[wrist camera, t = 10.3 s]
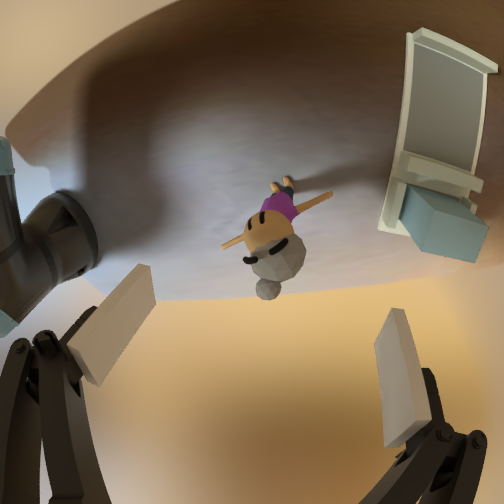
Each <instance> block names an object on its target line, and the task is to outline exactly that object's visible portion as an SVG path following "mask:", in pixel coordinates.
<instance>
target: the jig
mask: <svg viewBox="0 0 504 504" xmlns="http://www.w3.org/2000/svg"><path fill="white" fill-rule="evenodd" d="M487 73H498V65H497V64H496V63H494V62H492V61H491V60H489V59H487V58H486V57H484V56H482V55H480V54H478V53H477V52H475V51H473V50H471V49H469V48H467V47H465V46H463V45H461V44H459V43H457V42H455V41H453V40H451V39H449V38H447V37H444V36H442V35H440V34H437V33H435V32H433V31H430V30H428V29H425V28H423V27H422V28H420V29H419V30H417V31H416V32H414V33H413V34H412V33H409V32H408V33H406V61H405V76H404V88H403V97H402V106H401V114H400V122H399V128H398V135H397V141H396V147H395V153H394V158H393V163H392V168H391V173H390V178H389V183H388V187H387V192H386V196H385V200H384V204H383V209H382V213H381V216H380V220H379V224H378V230H380V231H385V232H390V233H396V234H401V235H405V236H410V237H411V235H410V234H409V232H408V231H407V230H406V228H405V227H404V225H403V224H402V223H401V221H400V220H399V218H398V217H399V214H400V210H401V206H402V202H403V198H404V194H405V190H406V186H407V185H411V186H414V187H418V188H421V189H425V190H428V191H431V192H435V193H438V194H441V195H444V196H448V197H451V198H454V199H456V200H457V201H458V202H460V203H461V204H462V205H464V206H465V207H466V208H467V209H469V210H470V211H471V212H472V213H473V214H475V213H476V210H477V207H478V205H477V204H475V203H474V202H473V201H471V200H470V199H468V197H469V193H470V190H472V191H475V192H478V193H480V194H481V190H482V186H483V182H484V181H483V180H481V179H480V178H478V177H476V176H474V173H475V169H476V164H477V159H478V154H479V149H480V143H481V137H482V131H483V123H484V115H485V105H486V91H487Z"/></svg>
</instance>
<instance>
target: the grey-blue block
mask: <svg viewBox="0 0 504 504" xmlns="http://www.w3.org/2000/svg"><path fill="white" fill-rule="evenodd" d="M398 218H399V220H400V221H401V223H402V224H403V225H404V227H405V228H406V230H407V231H408V232H409V234H410V235H411V237H412V238H413V240H414V241H415V243H416V244H417V246H418V247H419V249H420V250H421V251H422V252H427V253H432V254H436V255H441V256H445V257H450V258H454V259H459V260H463V261H467V262H472V263H475V261H476V259H477V257H478V254H479V252H480V249H481V247H482V244H483V242H484V239H485V237H486V234H487V231H488V229H489V226H487V225H486V224H485V223H484V222H483V221H482V220H481V219H479V218H478V217H477V216H476V215H475V214H473V213H472V212H471V211H470V210H469V209H467V208H466V207H465V206H464V205H462V204H461V203H460V202H458V201H457V200H456V199H454V198H451V197H448V196H444V195H441V194H438V193H435V192H431V191H428V190H425V189H421V188H418V187H414V186H411V185H407V186H406V190H405V194H404V198H403V202H402V206H401V210H400V214H399V217H398Z"/></svg>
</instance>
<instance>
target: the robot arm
mask: <svg viewBox="0 0 504 504" xmlns="http://www.w3.org/2000/svg"><path fill="white" fill-rule="evenodd" d="M14 173H15V169H14V167H13V161H12V152H11V145H10V142H9V141H8V140H7V139H6V138H5V137H2V136H0V338H3V337H5V336H6V335H8V334H9V333H10V332H11V331H12V330H13V329H14V328H15V327H16V326H18V325H19V324H20V322H21V321H22V320H23V319H24V318H25V317H26V316H27V315H28V314H29V313H30V312H31V310H33V309H34V308H35V307H36V305H37V304H38V303H39V302H40V301H41V300H42V299H43V298H44V297H45V296H46V295H47V294H48V293H49V292H50V291H51V290H52V289H53V288H54V287H56V286H57V285H58V284H61V283H63V282H66V281H68V280H71V279H74V278H77V277H79V276H82V275H83V274H85V273H86V272H87V271H88V270H89V269H90V268H91V267H92V266H93V265H94V264H95V262H96V259H97V254H98V244H97V238H96V234H95V231H94V228H93V225H92V223H91V221H90V219H89V217H88V215H87V214H86V212H85V211H84V209H83V208H82V207H81V206H80V204H79V203H78V202H77V201H76V200H74V199H73V198H72V197H70V196H69V195H67V194H64V193H60V192H57V193H53V194H51V195H49V196H47V197H45V198H44V199H42V200H41V201H40V202H39V203H38V204H37V205H36V207H35V208H34V209H33V210H32V211H31V213H30V214H29V215H28V216H27V218H26V219H25V220H24V222H23V223H21V219H20V214H19V209H18V203H17V197H16V190H15V181H14ZM155 305H156V301H155V295H154V289H153V283H152V277H151V270H150V266H147V265H143V264H138V265H137V266H136V267H135V268H134V269H133V270H132V271H131V272H130V273H129V274H128V275H127V276H126V277H125V278H124V279H123V280H122V282H121V283H120V284H119V285H118V286H117V287H116V288H115V289H114V290H113V291H112V292H111V293H110V294H109V296H108V297H107V298H106V299H105V300H104V301H103V302H102V303H101V304H100V306H99V307H96V306H92V307H91V308H89V309H87V310H86V311H85V312H84V313H83V314H82V315H81V316H80V318H79V319H77V321H76V322H75V324H73V325H72V326H71V327H70V329H69V330H68V331H67V332H66V333H65V334H64V336H63V337H62V338H61V339H60V340H59V341H58V339H57V337H56V335H55V334H54V333H53V331H50V330H43V331H41V332H39V333H38V334H36V335H35V337H34V338H33V341H32V343H33V345H34V346H32V345H31V344H30V342H29V340H27V339H26V338H19V339H17V340H16V341H14V342H13V344H12V345H11V347H10V350H9V353H8V355H7V358H6V361H5V364H4V367H3V370H2V373H1V376H0V504H40V486H39V484H40V481H39V480H40V454H41V441H43V448H44V455H45V461H46V466H47V471H48V476H49V481H50V485H51V489H52V497H51V499H50V500H49V503H48V504H112V503H111V500H110V498H109V495H108V492H107V489H106V486H105V483H104V480H103V477H102V474H101V471H100V468H99V464H98V460H97V457H96V453H95V449H94V445H93V441H92V436H91V432H90V427H89V422H88V417H87V412H86V406H85V400H84V393H83V387H82V381H81V377H82V376H83V375H84V376H85V378H86V380H87V381H88V382H90V383H92V384H94V385H96V386H98V387H100V385H101V384H102V382H103V381H104V379H105V378H106V376H107V375H108V373H109V371H110V370H111V369H112V367H113V365H114V364H115V363H116V361H117V360H118V358H119V357H120V355H121V354H122V352H123V351H124V349H125V348H126V346H127V345H128V343H129V342H130V340H131V339H132V337H133V336H134V334H135V333H136V332H137V330H138V329H139V327H140V326H141V325H142V323H143V322H144V320H145V319H146V317H147V316H148V315H149V313H150V312H151V310H152V309H153V308H154V306H155ZM374 347H375V353H376V360H377V367H378V376H379V384H380V392H381V403H382V415H383V430H384V448H396V447H400V446H401V445H402V444H404V443H405V442H406V449H405V450H403V451H402V452H400V453H399V454H398V455H397V456H396V458H398V459H397V460H396V461H395V463H394V464H393V465H392V466H391V468H390V469H389V470H388V471H387V472H386V474H385V475H384V476H383V477H382V479H381V480H380V481H379V482H378V483H377V484H376V485H375V487H374V488H373V489H372V490H371V491H370V492H369V493H368V494H367V495H366V496H365V497H364V498H363V500H361V502H360V503H359V504H416V502H417V501H418V500H419V498H420V497H421V495H422V494H423V495H422V497H421V499H420V501H419V504H473V501H474V498H475V495H476V491H477V488H478V485H479V481H480V477H481V472H482V469H483V464H484V460H485V455H486V449H487V438H486V435H485V434H484V433H483V432H482V431H480V430H474V431H472V432H471V433H470V434H468V435H465V434H461V433H457V432H454V429H453V427H452V426H451V425H450V424H448V423H446V422H445V419H444V415H443V410H442V405H441V401H440V396H439V395H438V393H439V392H438V388H437V384H436V380H435V377H434V375H433V373H432V372H431V370H430V369H429V368H421V366H420V362H419V358H418V354H417V351H416V347H415V344H414V340H413V337H412V333H411V330H410V327H409V324H408V321H407V318H406V314H405V311H404V310H403V309H397V308H391V310H390V312H389V314H388V316H387V319H386V321H385V323H384V325H383V327H382V329H381V331H380V333H379V335H378V337H377V339H376V341H375V343H374ZM27 377H28V379H27ZM26 380H27V381H26Z"/></svg>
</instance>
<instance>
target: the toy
mask: <svg viewBox="0 0 504 504" xmlns="http://www.w3.org/2000/svg"><path fill="white" fill-rule="evenodd" d="M283 182H284V185H285V188H284V189H283V191H282V192H280V189H279V188H278V186H277V185H276V184H275V183H271V188H272V190H273V194H272V195H271V197H269V198H267V199H265V201H264V203H263V205H262V208H261V210H260V212H258V213H257V214H255V215H254V216H252V217H251V218H250V219H249V220H248V222H247V224H246V226H245V229H244V233H243V234H241V235H240V236H238V237H236V238H234V239H232V240H230V241H228V242H226V243H224V244H223V245H221V248H222V249H226V248H228V247H230V246H232V245H235V244H237V243H239V242H241V241H245V244H246V246H247V248H248V250H249V251H250V252H251V256H250V257H244V258H243V261H244V263H246V264H251V265H252V269H253V272H254V273H255V274H256V275H258V276H259V277H260V278H261V279H260V280H259V281H258V282H257V284H256V293H257V296H258V297H260V298H261V299H262V300H272V299H275V298H276V297H277V296H278V295H279V293H280V291H281V283H280V282H283V281H285V280H288V279H290V278H293V277H294V276H295V275H296V274H297V272H298V271H299V270H300V269H301V267H302V266H303V263H304V259H305V255H306V249H305V246H304V244H303V242H302V239H301V238H299V237H298V236H297V235H296V234H294V230H293V227H292V225H291V223H292V220H293V219H294V218H295V217H296V216H297V215H299V214H300V213H301V212H303V211H305V210H307V209H309V208H311V207H312V206H314V205H316V204H318V203H320V202H322V201H324V200H326V199H328V198H330V197H331V196H332V195H333V193H332V191H330V192H326V193H324V194H322V195H320V196H318V197H316V198H314V199H312V200H309V201H307V202H305V203H302V204H299V205H297V206H294V204H293V193H294V186H293V184H292V183H291V182H290V180H289V179H288V178H287V177H286V176H285V177H283Z"/></svg>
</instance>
